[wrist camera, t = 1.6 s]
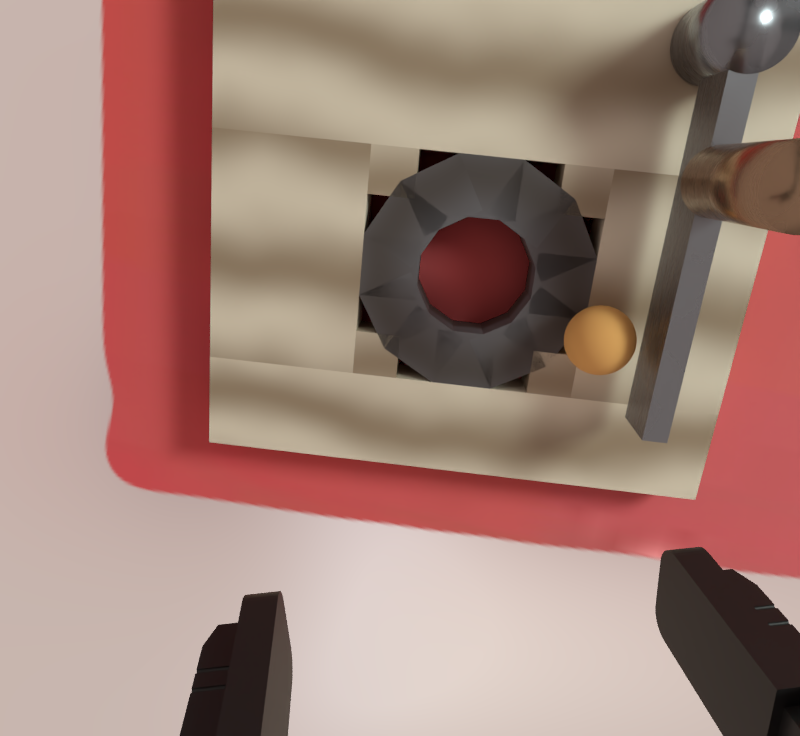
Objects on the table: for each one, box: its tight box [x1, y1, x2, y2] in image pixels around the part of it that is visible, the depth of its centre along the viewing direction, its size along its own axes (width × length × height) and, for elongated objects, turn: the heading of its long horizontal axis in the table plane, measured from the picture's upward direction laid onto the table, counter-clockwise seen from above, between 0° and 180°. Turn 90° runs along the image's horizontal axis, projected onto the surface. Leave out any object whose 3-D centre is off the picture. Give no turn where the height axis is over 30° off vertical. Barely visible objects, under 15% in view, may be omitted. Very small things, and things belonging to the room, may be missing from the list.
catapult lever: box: [625, 0, 800, 443], centre depth 26 cm, size 20×4×11 cm, turn 174°
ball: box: [564, 305, 637, 375], centre depth 32 cm, size 4×4×4 cm
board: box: [209, 0, 800, 500], centre depth 34 cm, size 26×28×2 cm
